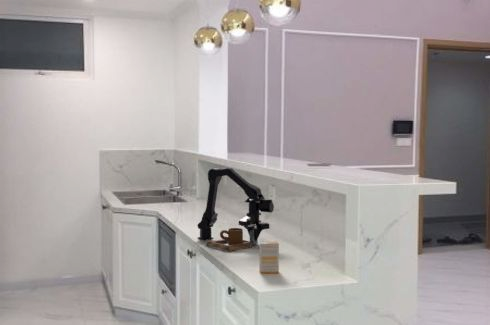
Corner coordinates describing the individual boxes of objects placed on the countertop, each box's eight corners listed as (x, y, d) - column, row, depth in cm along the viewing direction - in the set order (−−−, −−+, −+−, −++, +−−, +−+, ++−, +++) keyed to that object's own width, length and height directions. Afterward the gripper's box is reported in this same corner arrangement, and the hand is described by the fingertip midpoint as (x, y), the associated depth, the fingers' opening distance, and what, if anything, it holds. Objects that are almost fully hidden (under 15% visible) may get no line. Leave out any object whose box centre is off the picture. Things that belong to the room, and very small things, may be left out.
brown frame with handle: (206, 245, 294) (206, 231, 293) (239, 239, 310) (239, 226, 309) (228, 251, 281) (228, 237, 280) (262, 244, 296) (262, 231, 296)
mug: (221, 249, 286) (221, 231, 285) (218, 246, 294) (218, 228, 293) (244, 248, 289) (244, 230, 288) (240, 245, 296) (241, 227, 295)
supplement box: (277, 270, 246) (278, 241, 246) (278, 273, 242) (279, 243, 241) (258, 270, 246) (259, 241, 245) (259, 273, 241) (260, 243, 240)
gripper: (231, 210, 299) (230, 239, 300) (254, 214, 285) (254, 245, 287) (246, 208, 307) (246, 236, 308) (270, 212, 293) (269, 242, 294)
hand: (253, 240), depth 299 cm, fingers closed on brown frame with handle, 3 cm apart
